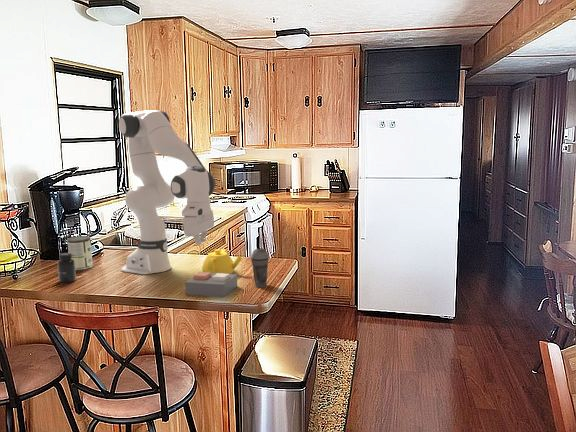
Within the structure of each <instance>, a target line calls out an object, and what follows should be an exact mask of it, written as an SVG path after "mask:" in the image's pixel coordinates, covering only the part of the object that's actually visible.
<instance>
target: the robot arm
mask: <svg viewBox="0 0 576 432" xmlns="http://www.w3.org/2000/svg"><path fill="white" fill-rule="evenodd" d="M118 128H119V131H120V133H121V135H122V136H124V137H125V138H128V152H129V158H130V164H131V168H132V173H133V174H134V176H136V177H138V178H139V179H140V180H141V182H142V184H143V185H141V186H140V185H139V186H136V187H133V188H132V189H129V190H128V191H127V192H126V193H125V198H124V200H125V205H126V206H127V208H128V209H129V210H130V211H132V213H133V214H134V215H135V216H136V218H137V220H138V224H139V232H140V239H139V240H138V241H135V243H136V244H135V245H138V246H137V248H136V249H135V250H133V251H132V252H131V253H130V254H129V255H127V256H126V257H127V258H126V263H125V265H123V266H122V267H121V272H124V273H133V274H139V275H150V274H154V273H155V274H157V273H162V272H166V271H169V270H170V269H172V265H171V262H170V259H169V255H168V254H169V253H168V238H167V235H166V234H167V233H166V223H165V220H164V219H163V218H162V217H159V215H158V212H157V209H158V208H159V209H160V208H164V207H167V206H168V205H170V204H172V203H173V201H174V200H175V198H176V199H187V200H186V205H185V207H184V208H183V209H182V211H181V216H182V217H183V218H182V225H183V226H182V228H183V234H184V236H185V237H193V238H194V242H195V245H197V246H198V245H201V244H202V243H204V242H206V241H207V238H206V237H207V233H208V230H210V229H212V228H214V227H215V220H214V219H215V218H214V212H213V210H212V208H211V199H210V196H211V195H212V194H213V193H214V191H215V189H216V179H215V177H213V175H212V174H211V173H210V172H209V171H208V170H207V169H206V167H205V166H204V165H203V162H201V160H200V158H198V155H197V154H196V152H194V150H193V149H192V147H191V146H190V145H189V144H188V143H187V142H185V141H184V140H183V139H182V138H181V137H179V135H178V134H177V133H176V132H175V130H174V128H173V126H172V125H171V120H170V117H169V115H168V113H167V112H166V111H163V110H159V109H157V110H156V109H155V110H142V111H141V110H140V111H135V112H126V113H123V114H122V115H120V117H119V118H118ZM156 153H157V154H159V155H161V156H164V157H169V158H173V159H177V160H179V161H182V162H183V163H184V164H185V165H186V167H187V168H186V170H185V171H184V172H181V173H180V174H177V175H175V176H173V178H172V180H171V182H170V184H169V183H167V182H166V181H165V179H164V177H163V175H162V174H161V171H160V169H159V164H158V161H157V155H156Z"/></svg>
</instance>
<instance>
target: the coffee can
mask: <svg viewBox="0 0 576 432" xmlns="http://www.w3.org/2000/svg"><path fill="white" fill-rule="evenodd" d="M66 242H67V250H68V251H67V253H71V254H72V258H71V259H73V260H74V261H75V271H80V270H81V271H82V270H87V269H90V268H93V266H94V265H93V255H92V244H91V236H88V235H79V236H72V237H68V238H66Z"/></svg>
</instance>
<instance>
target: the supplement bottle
mask: <svg viewBox="0 0 576 432" xmlns="http://www.w3.org/2000/svg"><path fill="white" fill-rule="evenodd" d="M71 258H72V254H71V253H68V252H62V253H60V254H59V260H58V261H57V274H58V275H57V276H58V282H59V283H61V284H69V283H74V282H75V281H76V279H77V275H76V270H75V261H74V260H73V259H71Z"/></svg>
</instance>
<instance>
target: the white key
mask: <svg viewBox="0 0 576 432" xmlns="http://www.w3.org/2000/svg"><path fill="white" fill-rule="evenodd" d="M212 278H213V281H226V280H228V279H229V274H225V273H217V274H215V275H214V276H212Z"/></svg>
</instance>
